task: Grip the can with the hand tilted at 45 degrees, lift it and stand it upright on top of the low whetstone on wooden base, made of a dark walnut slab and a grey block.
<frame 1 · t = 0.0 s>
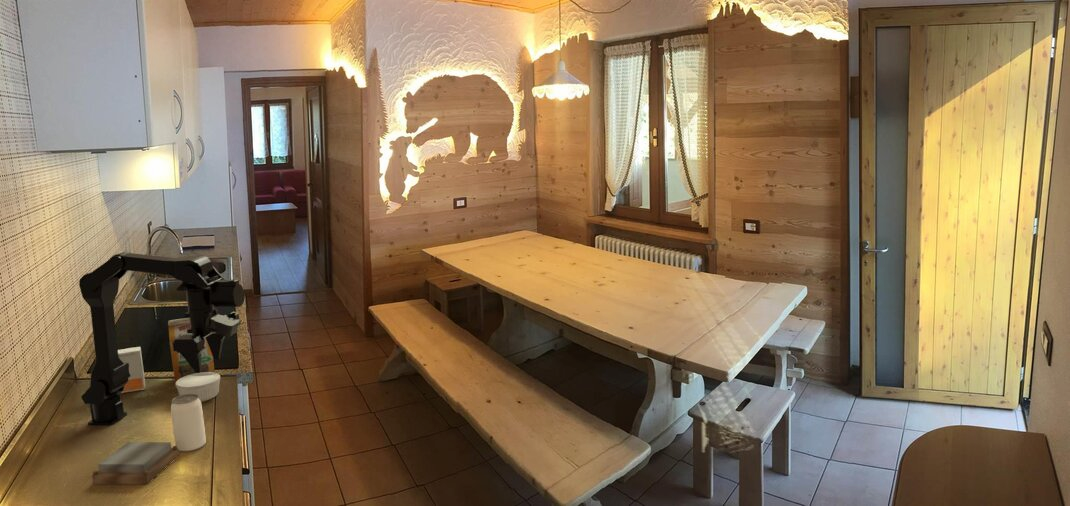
hand: (208, 366, 170), 15 cm above the counter, tool pointing down, fingers open, 9 cm apart
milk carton: (195, 379, 202), on the counter
skincare box: (133, 390, 194), on the counter
whetstone on wooden base: (138, 469, 149), on the counter
can: (191, 446, 160), on the counter
ramekin: (200, 397, 189), on the counter
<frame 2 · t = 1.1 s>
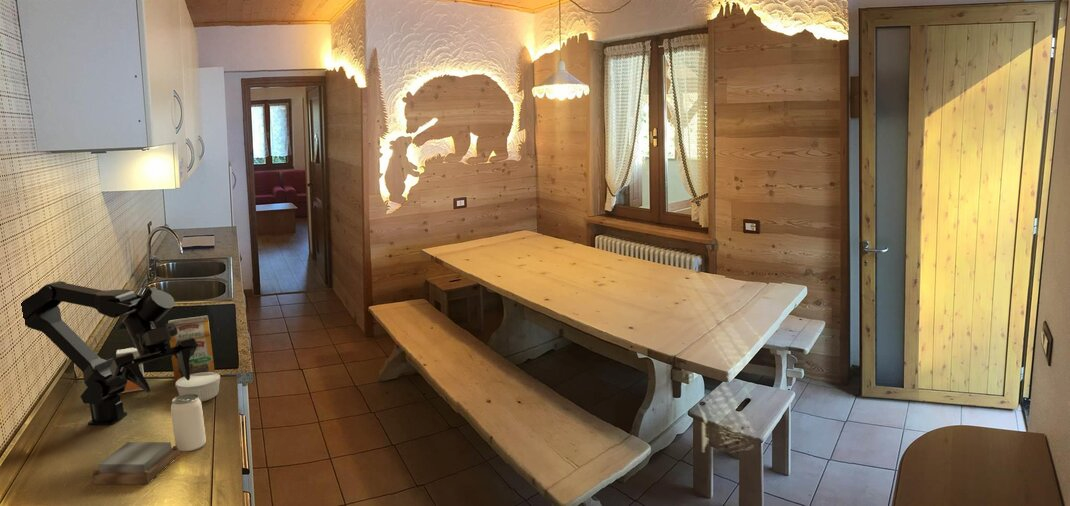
hand: (169, 385, 162), 13 cm above the counter, tool tilted 45°, fingers open, 9 cm apart
nothing on the counter moved.
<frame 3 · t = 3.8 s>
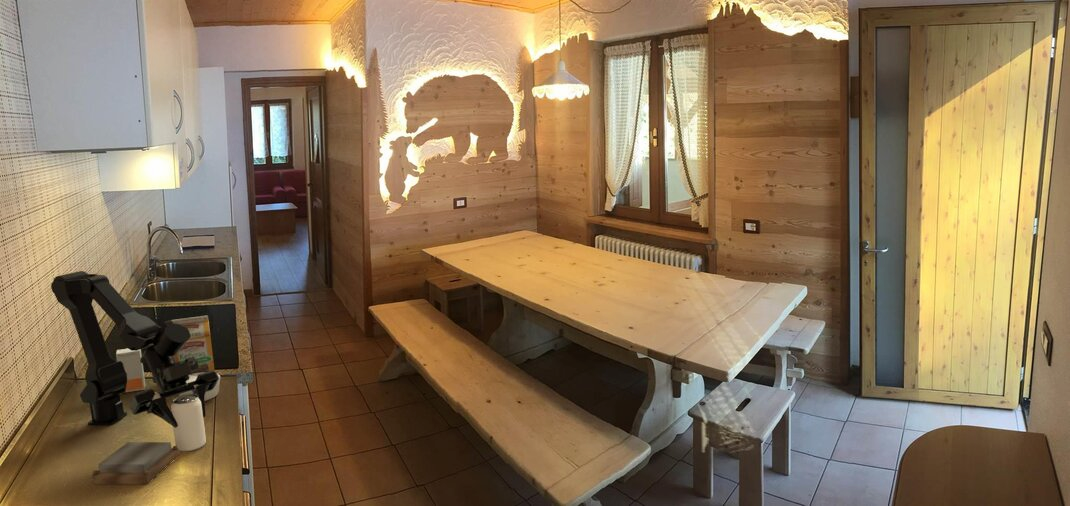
hand: (190, 421, 157), 7 cm above the counter, tool tilted 45°, fingers open, 6 cm apart
can: (191, 446, 160), on the counter, touching gripper
everything else where it was.
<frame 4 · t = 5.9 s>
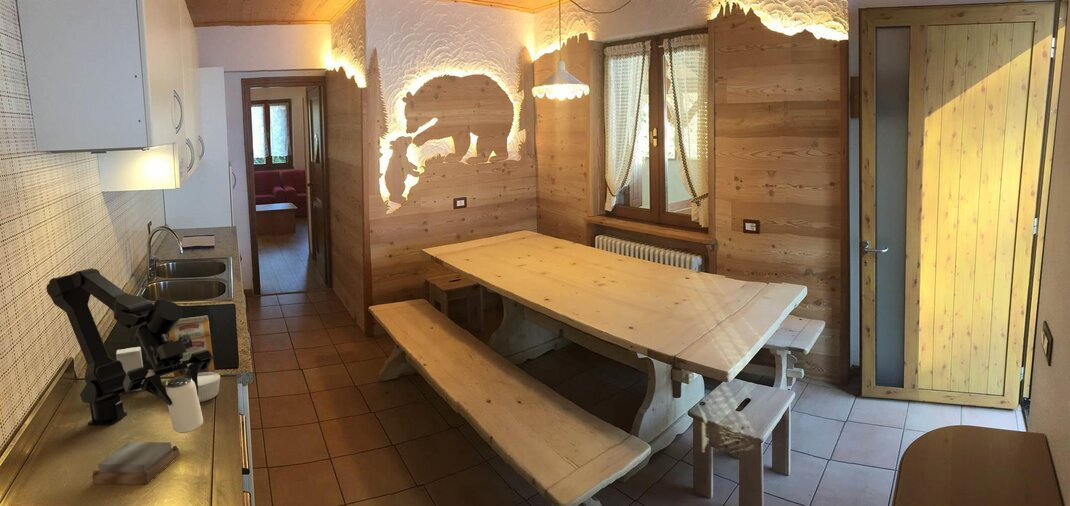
hand: (184, 400, 156), 12 cm above the counter, tool tilted 45°, fingers closed on can, 6 cm apart
can: (188, 426, 159), point 5 cm above the counter, touching gripper
everything else where it was.
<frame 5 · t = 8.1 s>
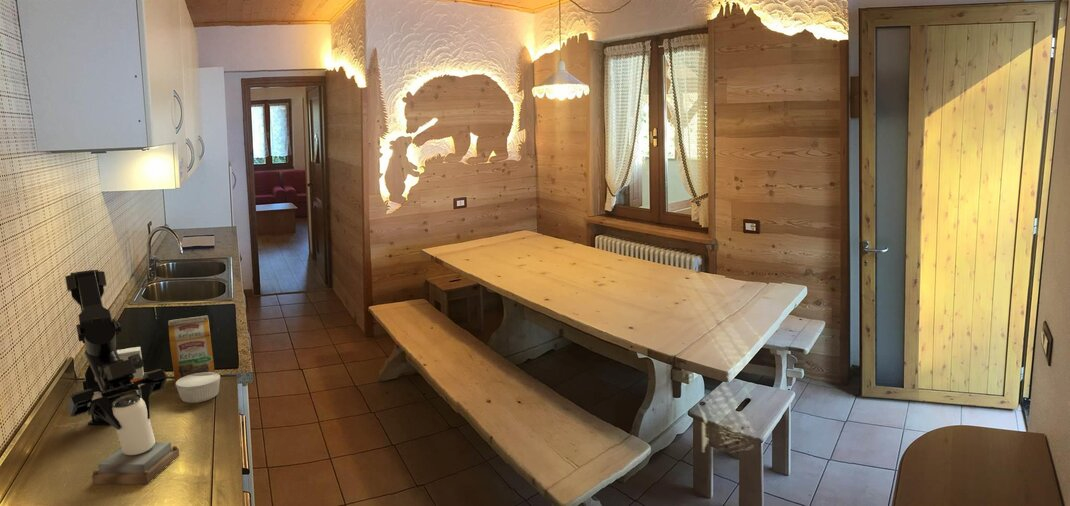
hand: (134, 423, 146), 11 cm above the counter, tool tilted 45°, fingers closed on can, 5 cm apart
can: (139, 448, 150), point 4 cm above the counter, touching gripper, whetstone on wooden base
everything else where it was.
when the fingers open (11 cm above the counter, at t = 9.1 s): can stays where it is, resting on whetstone on wooden base.
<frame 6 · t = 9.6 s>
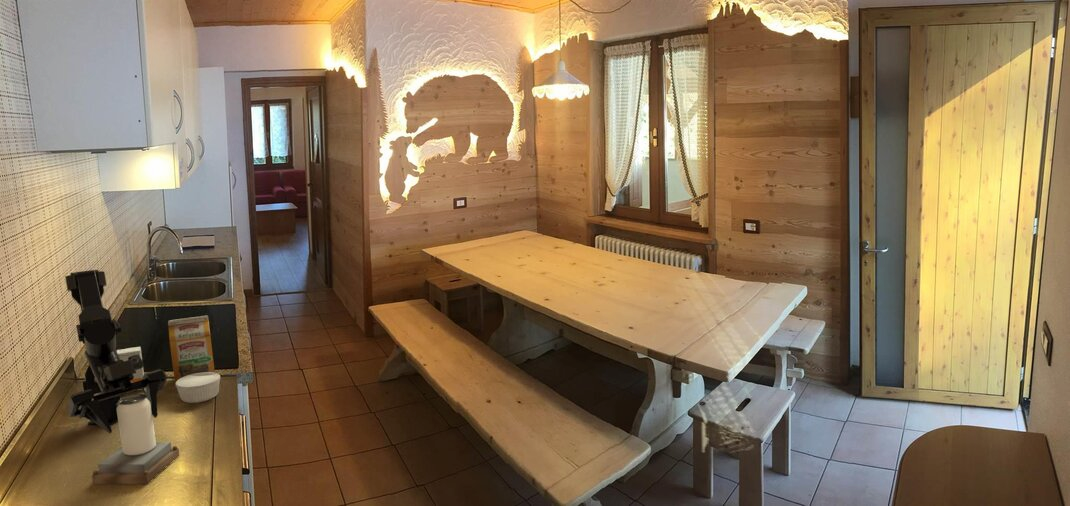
hand: (134, 424, 146), 11 cm above the counter, tool tilted 45°, fingers open, 9 cm apart
can: (140, 450, 150), point 4 cm above the counter, touching whetstone on wooden base
everything else where it was.
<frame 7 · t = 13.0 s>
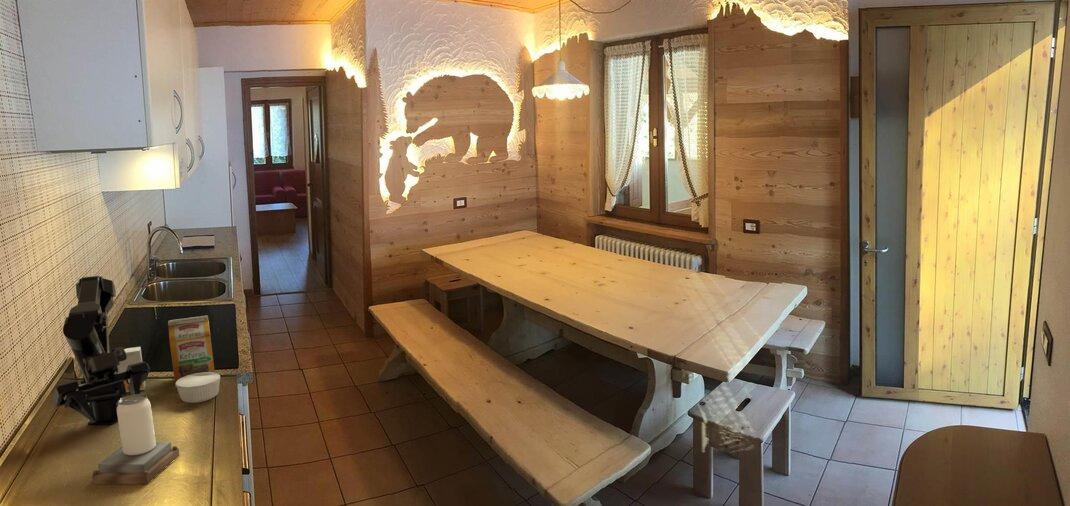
hand: (117, 414, 151), 11 cm above the counter, tool tilted 45°, fingers open, 9 cm apart
nothing on the counter moved.
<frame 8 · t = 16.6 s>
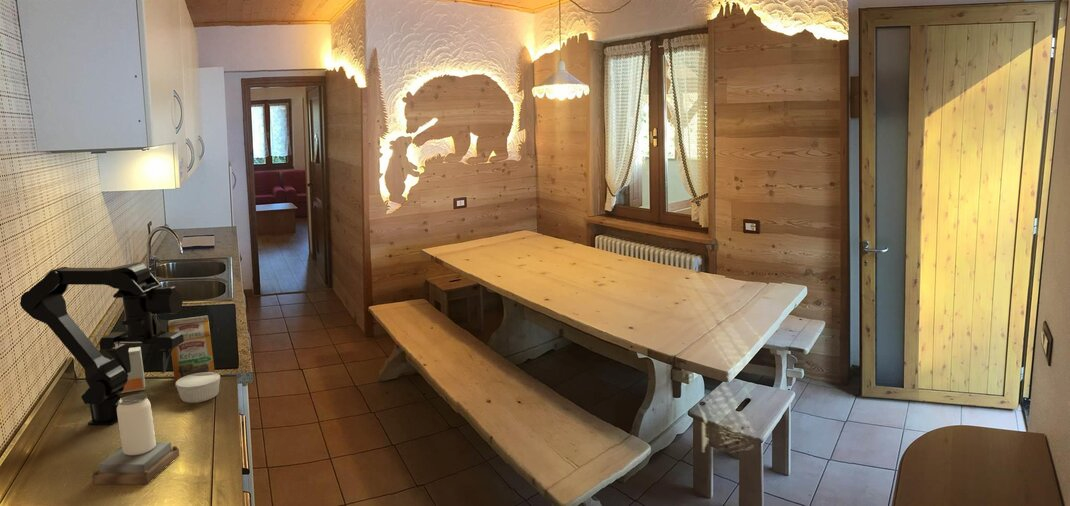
hand: (146, 372, 171), 13 cm above the counter, tool pointing down, fingers open, 9 cm apart
nothing on the counter moved.
at the end: can 1.5 cm off-centre on the whetstone on wooden base, point 3.8 cm above the whetstone on wooden base's base; can tilted 0°; the gripper is holding nothing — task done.
